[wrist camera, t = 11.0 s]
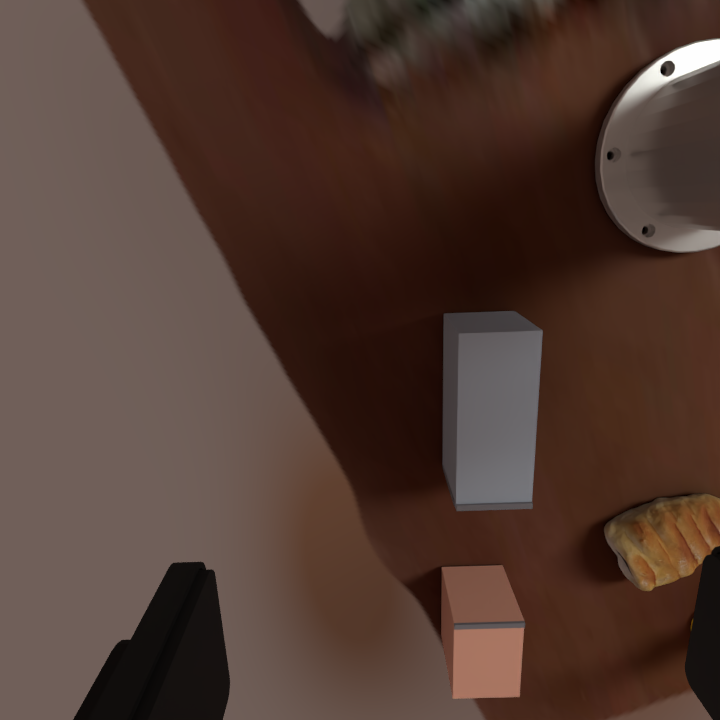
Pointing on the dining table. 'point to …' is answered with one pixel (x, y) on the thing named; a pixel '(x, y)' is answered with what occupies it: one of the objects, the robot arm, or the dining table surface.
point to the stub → (481, 632)
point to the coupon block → (490, 409)
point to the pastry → (665, 538)
